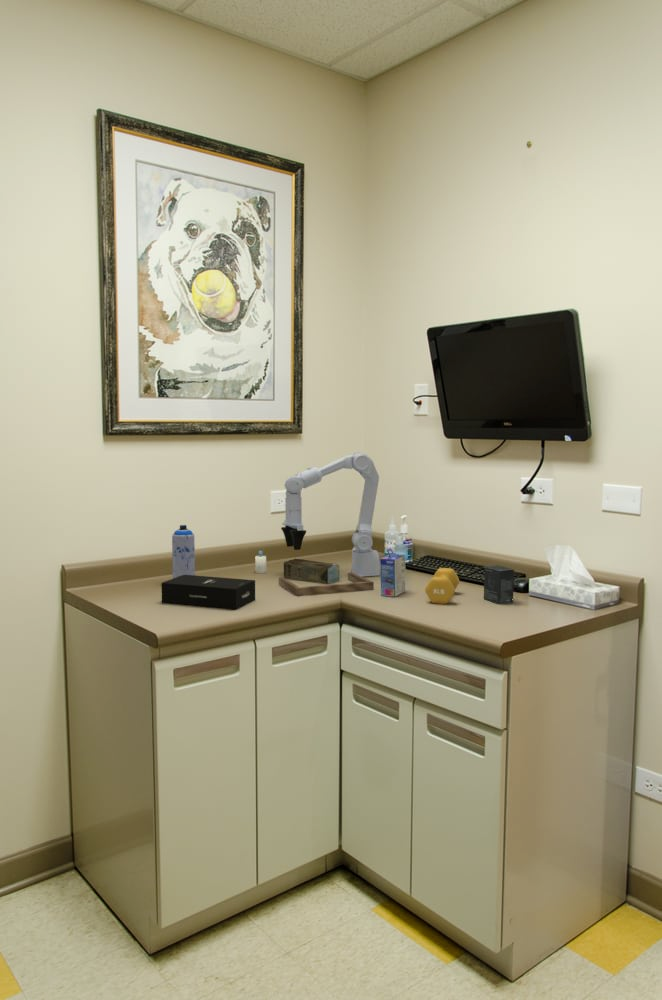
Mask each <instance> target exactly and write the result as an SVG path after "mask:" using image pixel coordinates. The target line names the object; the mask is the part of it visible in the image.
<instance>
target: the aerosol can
mask: <svg viewBox="0 0 662 1000" xmlns="http://www.w3.org/2000/svg"><path fill="white" fill-rule="evenodd" d="M171 546H172V549H171V550H172V551H171V552H172V553H171V554H172V555H171V557H172V579H173V578H176V577H179V576H182V575H196V566H195V565H196V563H195V562H196V559H195V534H194V532H193V531H192V530H190V529H189V528H188V527H187V524H181V525H179V528H178V529H177V530H175V531H174V533H173V534H172V536H171Z"/></svg>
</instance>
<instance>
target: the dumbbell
mask: <svg viewBox="0 0 662 1000" xmlns="http://www.w3.org/2000/svg"><path fill="white" fill-rule="evenodd" d="M459 584H460V579H459V576H458V575H457V573H456V571H455V570H454V568H451V567H450V568H449V567H440V568H439V567H438V569H437V570H436V571H435V573H434V574H433V576H432V577H431V579H430V580H429V581H428V583H427V585H426V586H425V589H424V590H425V594H426V596H427V598H428V599H429V601H430V602H431V603H432V604H437V605H447V604H449V602H450V601H451V600H452V598H453V596H454V594H455V591H456V589H457V587H458V586H459Z"/></svg>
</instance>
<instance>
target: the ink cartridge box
mask: <svg viewBox="0 0 662 1000" xmlns="http://www.w3.org/2000/svg"><path fill="white" fill-rule="evenodd" d="M386 552H387V555H386V556H384V557H380V558H379V570H380V595H381V596H385V597H391V598H395V597H398V596H399V595H401V594H402V593H404V592H406V555H405V554H401V553H400V554H399V553H394V552H393V549H392V548H387V549H386Z"/></svg>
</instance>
